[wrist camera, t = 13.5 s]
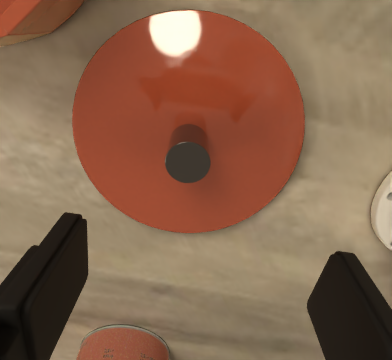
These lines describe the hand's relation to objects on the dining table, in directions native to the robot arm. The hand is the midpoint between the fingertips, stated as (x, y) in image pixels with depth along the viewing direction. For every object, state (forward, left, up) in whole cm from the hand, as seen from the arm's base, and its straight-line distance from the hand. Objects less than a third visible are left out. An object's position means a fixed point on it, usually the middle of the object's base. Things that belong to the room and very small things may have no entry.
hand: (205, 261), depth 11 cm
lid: (+1, 0, -13) cm, 13 cm away
